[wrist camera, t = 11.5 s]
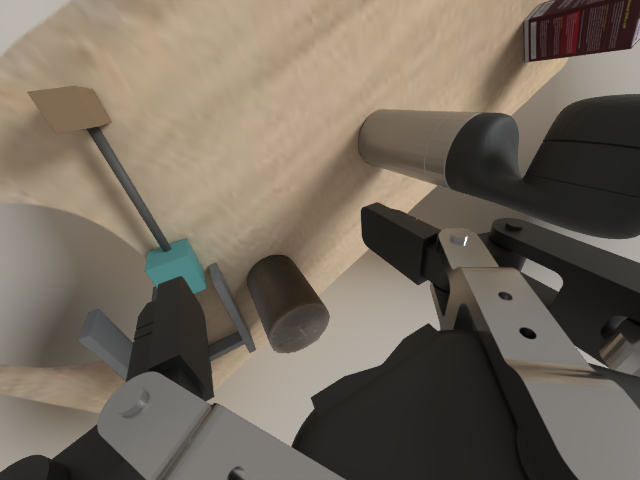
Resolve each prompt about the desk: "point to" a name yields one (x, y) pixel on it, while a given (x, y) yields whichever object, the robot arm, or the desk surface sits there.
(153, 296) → the lane rack
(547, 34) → the supplement box
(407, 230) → the robot arm
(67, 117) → the block ended dumbbell
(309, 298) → the pillar candle
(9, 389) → the desk surface
